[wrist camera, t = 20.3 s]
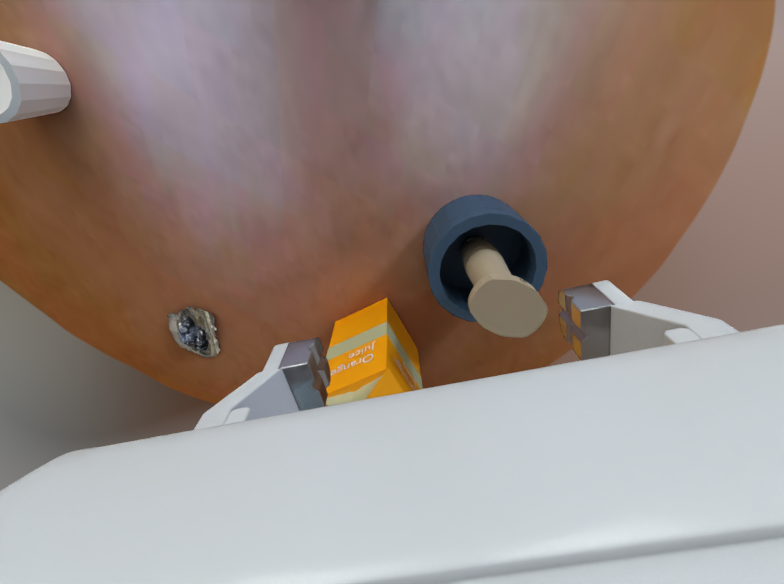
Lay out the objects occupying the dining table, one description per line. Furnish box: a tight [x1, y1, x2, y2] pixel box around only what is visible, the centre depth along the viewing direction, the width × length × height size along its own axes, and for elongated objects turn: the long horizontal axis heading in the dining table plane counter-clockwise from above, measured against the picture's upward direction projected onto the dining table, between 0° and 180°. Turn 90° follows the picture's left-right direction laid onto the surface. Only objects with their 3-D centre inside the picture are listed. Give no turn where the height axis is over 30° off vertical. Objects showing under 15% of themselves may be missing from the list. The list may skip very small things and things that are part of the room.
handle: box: [461, 236, 548, 337], centre depth 40 cm, size 5×6×15 cm
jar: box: [423, 195, 547, 322], centre depth 44 cm, size 12×12×8 cm
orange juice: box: [325, 298, 423, 406], centre depth 44 cm, size 8×9×20 cm
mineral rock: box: [167, 306, 220, 358], centre depth 51 cm, size 7×8×2 cm
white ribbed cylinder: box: [0, 41, 71, 123], centre depth 36 cm, size 7×7×7 cm
